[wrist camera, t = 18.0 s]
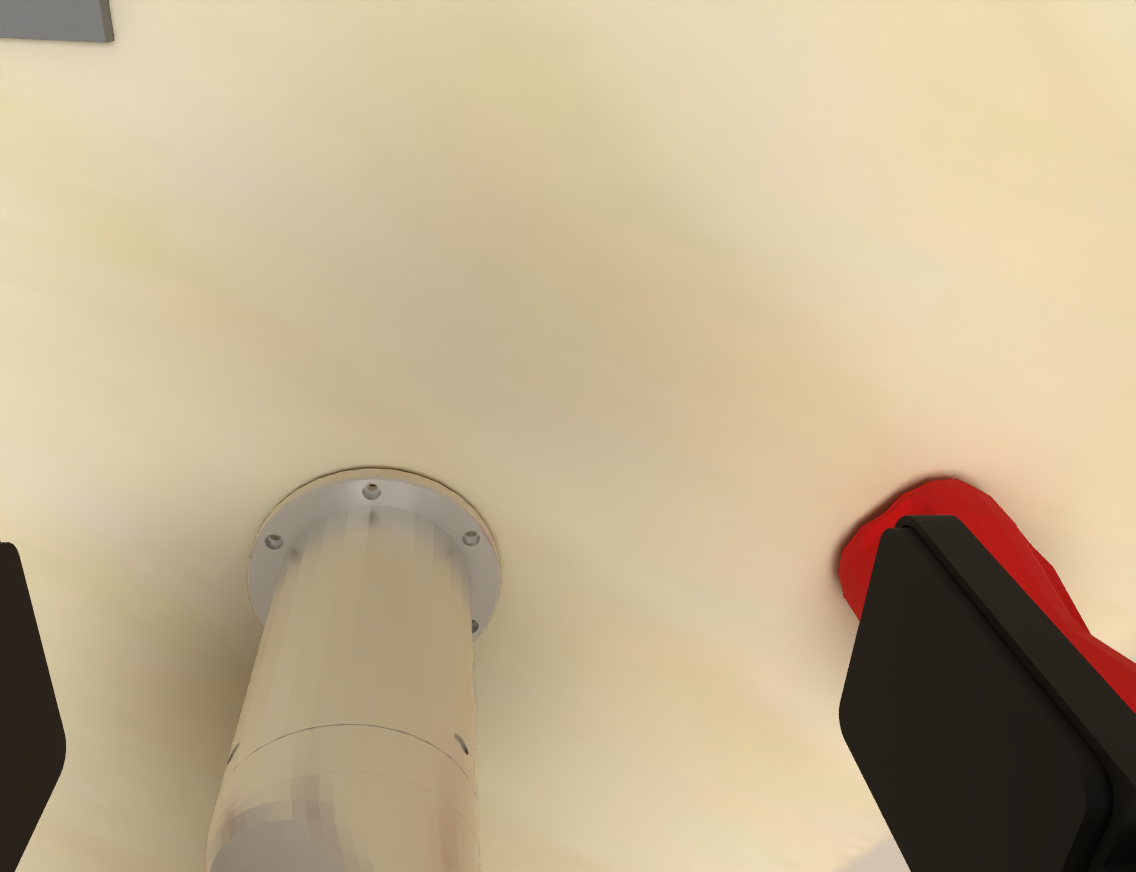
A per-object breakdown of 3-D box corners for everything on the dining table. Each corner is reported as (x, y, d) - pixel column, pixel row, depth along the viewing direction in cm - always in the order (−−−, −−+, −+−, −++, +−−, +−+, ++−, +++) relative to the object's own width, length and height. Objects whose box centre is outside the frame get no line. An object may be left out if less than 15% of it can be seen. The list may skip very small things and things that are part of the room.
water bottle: (782, 575, 51) (1033, 1043, 29) (945, 446, 49) (1356, 854, 27) (875, 661, 55) (1160, 1134, 33) (1032, 545, 53) (1455, 976, 30)
